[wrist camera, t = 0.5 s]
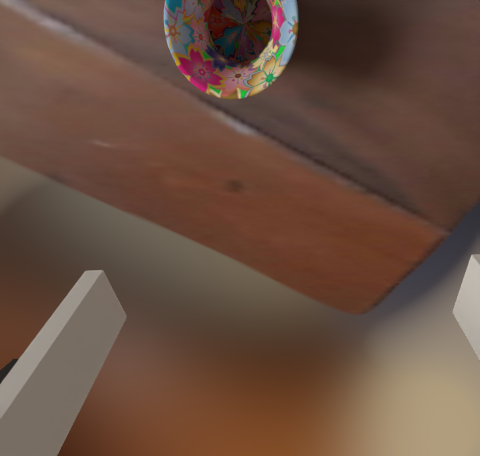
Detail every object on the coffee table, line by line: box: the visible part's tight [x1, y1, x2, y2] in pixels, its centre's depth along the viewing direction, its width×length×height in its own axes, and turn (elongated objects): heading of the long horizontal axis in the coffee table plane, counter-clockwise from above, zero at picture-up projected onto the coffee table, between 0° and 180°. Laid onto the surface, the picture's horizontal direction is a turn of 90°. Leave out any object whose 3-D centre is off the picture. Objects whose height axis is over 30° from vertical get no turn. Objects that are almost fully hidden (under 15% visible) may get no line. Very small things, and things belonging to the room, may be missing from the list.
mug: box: [164, 0, 299, 99], centre depth 26 cm, size 12×9×11 cm
